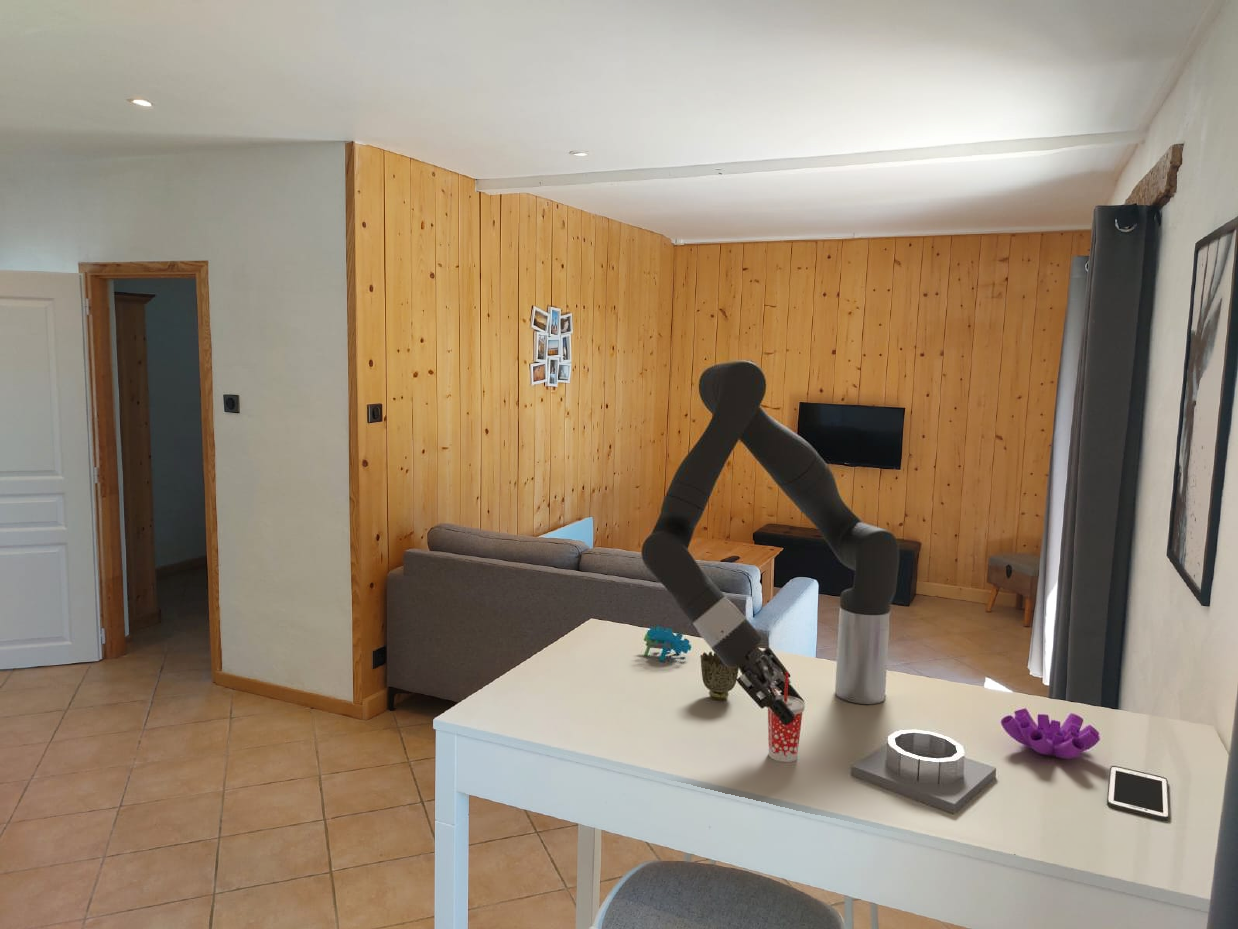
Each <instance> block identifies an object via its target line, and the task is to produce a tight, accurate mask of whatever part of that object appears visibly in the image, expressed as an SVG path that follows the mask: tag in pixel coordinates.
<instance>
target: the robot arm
mask: <svg viewBox="0 0 1238 929" xmlns="http://www.w3.org/2000/svg"><path fill="white" fill-rule="evenodd" d="M766 391H767V380H766V376H765V373H764V372H763V370H762V369H761V368H760V367H759V366H758V365H757V363H754V362H753V361H748V360H735V361H730V362H729V361H727V362H722V363H721V362H720V363H718V364H714V365H711V366H710V367H707V368H706V369H704V371H702V373H701V375H700V377H699V380H698V394H699V396H700V400H701V401H702V402H701V403H703V405H704V406H705V408H706V409H707V410H708V411H709V413H711V414H712V416H711V419H710V420H709V422H708V425H707V427H706V428H705V430H704V432H703V433H702V434H701V436H700V437H699V439H698V441H696V443H695V444H694V446H693V447H692V448H691V449H690V450H689V452H688V453H687V454H686V456H685V457H684V458H683V460H682V461H681V462H680V464H679V465H678V468H677V469H676V471H675V474H673V478H672V480H671V481H670V482H671V483H670V484H669V486H668V488H667V491H666V493H665V495H664V498H663V501H662V504H661V508H660V514H659V516H658V518H657V521H656V523H655V525H654V527H653V529H652V532H651V534H649V536H647V537H646V538H645V540H644V541H643V544H642V546H641V559H642V563H643V564H644V566H645V568H646V569H647V571H649V573H651V574H653V575H654V576H655V578H656V579H657V580H658V581H659V582H660V584H662V585H663V587H664V588H665V589H666V590H667V592H669V593H670V594H671V596H672V597H673V599H674V601H675V603H676V604H677V605H678V607H679V608H680V610H681V611H682V613H684V615H685V616H686V617H687V619H688V620H689V621H690V622H691V623H692V624H693V626H694V628H695V629H696V630H697V633H698V634H699V635H700V637H701V638H702V639H703V640H704V642H705V643H706V644H707V645H708V646H709V648H710V649H711V650H712V651H713V653H715V654H716V655H717V656H718V657H719V658H720V660H721V661H722V662H723V663H724V665H725V666H726V667H728V668H731V667H733V666H734V665H737V666H738V668H739V671H740V673H741V675H740V676H739V677H737V681H736V683H738V685H739V686H740V687H741V688H742V689H743V690H744V691H745V693H746V694H748V695H749V697H750V698H751V699H752V700H753V701H754V702H755V704H757V706H758V707H759V708H760V709H764V708H767V709H768V708H769V707H770V709H771V710H772V711H773V712H774V713H775V715H776V716H777V717H778V718H779V720H780V721H781V722H782V723H783V724H784V725H788V724H790V723H791V722H792V721H794V719H795V715H794V714H793V712H792V711H791V710H790V709H789V707H788V706H787V705H786V704H785V703H784V701H783V700H782V699H780V697H779V694H780V695H784V693H785V673H786V672H788V692H787V696H792V697H796V698H798V699H801V700H802V701H803V702H804V703H805V700H804V699H803V697H801V695H800V694H799V693H798V691H796V689H795V688H794V687H793V686H792V685H791V683H792V682H791V680H790V678H791V674H790V672H789V671H788V670H787V669H786V667H785V666H784V665H783V663H782V662H781V661H780V660H779V658H778V657H777V655H776V654H775V653H774V651H773V650H772V649H771V647H766V648H765V649H763V650H761V648H759V645H761V643H762V642H763V637H762V636H761V635H760V633H759V632H758V631H757V630H756V629H755V628H754V626H753V625H752V624H751V623H750V622H749V620H748V619H747V618H746V617H745V615H744V614H743V613H742V612H741V611H740V610H739V608H738V607H737V606H736V605H735V604H734V603H733V602H732V601H731V600H730V599H729V598H728V597H727V596H725V594H724V593H723V591H722V590H720V588H719V587H718V586H717V584H715V582H714V581H713V580H712V579H711V578H710V577H709V576H708V575H707V574H706V573H705V571H703V569H702V568H701V567H700V565H699V564H698V562H697V561H696V559H695V558H694V557H693V555H692V554H691V553H690V551H689V550H688V549H689V547H690V544H691V540H692V538H693V535H694V532H695V530H696V527H697V526H698V523H699V522H700V520H701V518H702V516H703V514H704V513H705V509H706V507H707V506H708V502H709V500H710V498H711V495H712V493H713V491H714V488H715V486H716V483H717V481H718V479H719V477H720V474H721V472H722V470H723V468H724V467H725V466H726V463H727V461H728V459H729V457H730V455H731V454H732V452H733V450H734V449H735V447H736V446H737V443H738V442H739V441H740V442H741V443H742V444H743V445H744V446H745V447H746V448H747V450H748V452H749V453H750V454H752V456H753V457H754V459H755V460H756V461H757V462H758V463H759V464H760V465H761V467H762V468H763V469H764V470H765V472H766V473H767V474H768V475H769V476H770V477H771V479H772V480H773V481H774V482H775V484H776V485H777V486H778V487H779V488H780V489H781V490H782V492H783V493H784V494H785V495H786V496H787V497H788V498H789V499H790V501H791V502H792V503H793V504H794V505H795V506H796V507H797V508H798V509H799V511H801V513H802V514H803V515H804V516H805V517H806V518H807V519H808V520H809V521H810V522H811V523H812V524H813V525H814V526H815V527H816V529H817V530H818V532H819V533H820V534H821V536H822V538H823V539H824V540H825V542H826V543H827V545H828V546H829V548H830V549H831V550H832V552H833V554H834V555H835V557H836V558H837V559H838V561H839V562H840V563H841V564H843V565H844V567H846V568H848V569H850V570H852V571H854V577H853V578H854V579H853V585H852V587H851V588H847V589H844V590H843V591H842V592H841V593H840V596H839V597H840V598H839V612H838V614H839V615H838V616H839V617H838V631H837V634H838V635H837V654H836V668H835V669H836V671H835V683H834V684H835V685H834V686H835V687H834V688H835V689H834V692H835V695H836V696H837V697H838V698H840V699H841V700H844V701H847V702H850V703H854V704H861V705H875V704H879V703H882V702H883V701H884V700H885V698H886V696H885V695H886V687H887V686H886V685H887V672H888V671H887V669H888V655H889V654H888V651H889V633H890V632H889V631H890V616H891V604H892V602H893V600H894V598H895V595H896V592H897V584H898V574H899V567H900V546H899V542H898V540H897V537H896V536H895V535H894V534H893V533H892V532H891V531H889V530H887V529H885V528H882V527H878V526H875V525H871V524H869V523H867V522H865V521H863V520H862V519H861V518H859V517H858V515H856V514H855V513H854V512H853V510H851V509H850V508H849V506H847V504H846V503H845V502H844V501H843V499H842V497H841V495H840V492H839V490H838V485H837V482H836V479H835V476H834V473H833V472H832V470H831V468H830V467H829V465H828V464H827V463H826V462H825V460H824V459H823V458H822V456H820V454H819V453H818V452H817V450H816V449H815V448H814V447H813V446H812V445H811V444H810V443H809V442H808V441H806V440H805V438H803V437H802V436H800V435H799V434H797V433H796V432H794V431H793V430H792V429H790V428H788V427H787V426H785V425H783V424H782V423H780V422H779V421H777V420H776V419H774V418H773V417H772V416H771V415H770V414H768V413H767V412H766V411H765V410H764V409H763V407H762V406H761V403H762V402H763V400H764V398H765V395H766ZM778 692H779V693H778Z"/></svg>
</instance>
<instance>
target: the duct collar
mask: <svg viewBox="0 0 1238 929" xmlns="http://www.w3.org/2000/svg"><path fill="white" fill-rule="evenodd" d="M886 739H887V741H886V743H887V755H886V760H887V766H888V767H889V768H890V769H892V770H893V771H894V772H895V773H897V774H898V775H900V776H903V777H905V778H908V779H911V780H914V781H916V782H917V781H918V782H922V783H929V784H937V785H938V784H939V785H940V784H948V783H955V782H957V781H958V780H959V779H960V778H962V777H963V773H964V759H965V758H966V756H965V755H966V752H965V750H964V748H963V745H962V744H961V743H959V742H957V741H955V740H954V739H952V738H951V737H949V736H946V735H943V734H940V733H936V732H933V731H930V730H929V731H927V730H919V729H905V730H897V731H894V732H893V733H891V734H889V735H887V738H886ZM911 753H915V754H923V755H930V756H933V757H936V758H939V759H934V758H926V757H919V756H916V755H914V754H911Z"/></svg>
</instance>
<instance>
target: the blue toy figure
mask: <svg viewBox="0 0 1238 929" xmlns="http://www.w3.org/2000/svg"><path fill="white" fill-rule="evenodd" d="M673 632H674V630H673V629H672V628H669V627H668V628H666V629H664V628H663V627H662V626H656V628H655V627H654V626H651V627H650V629H649V630H647V632H646V633H645V635H644V638H643V641H644V642H645V643H646V644H645V646H646V649H645V651H644V653H643V656H645V657H648V654H649V652H650V650H651V649H658V650H661V649H662V651H661V653H660V657H658V658H659V659H658V661H660V662H664V661H665V658H666V655H667V654H668V652H672V650H673V651H674V653H675V654H676V655H678V654H681V653H683V654H688V653H689V652H688V651H691V650H692V645H691V642H690V640H689V639H687V638H684V639H682V638H683V634H682V633H679V632H677V633H676V635H675V634H674V633H673Z"/></svg>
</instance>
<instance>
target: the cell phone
mask: <svg viewBox="0 0 1238 929" xmlns="http://www.w3.org/2000/svg"><path fill="white" fill-rule="evenodd" d="M1168 782H1169V781H1168V779H1167V778H1166V777H1164V776H1161V775H1157V774H1156V775H1155V774H1153V773H1148V772H1144V771H1140V770H1135V769H1131V768H1126V767H1122V766H1117V765H1111V766H1110V768H1109V776H1108V786H1107V796H1106V806H1107V807H1108V808H1110V809H1113V810H1116V811H1121V812H1124V813H1128V814H1132V815H1136V816H1140V817H1145V818H1149V819H1153V820H1157V821H1161V822H1169V820H1170V797H1169V783H1168Z"/></svg>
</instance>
